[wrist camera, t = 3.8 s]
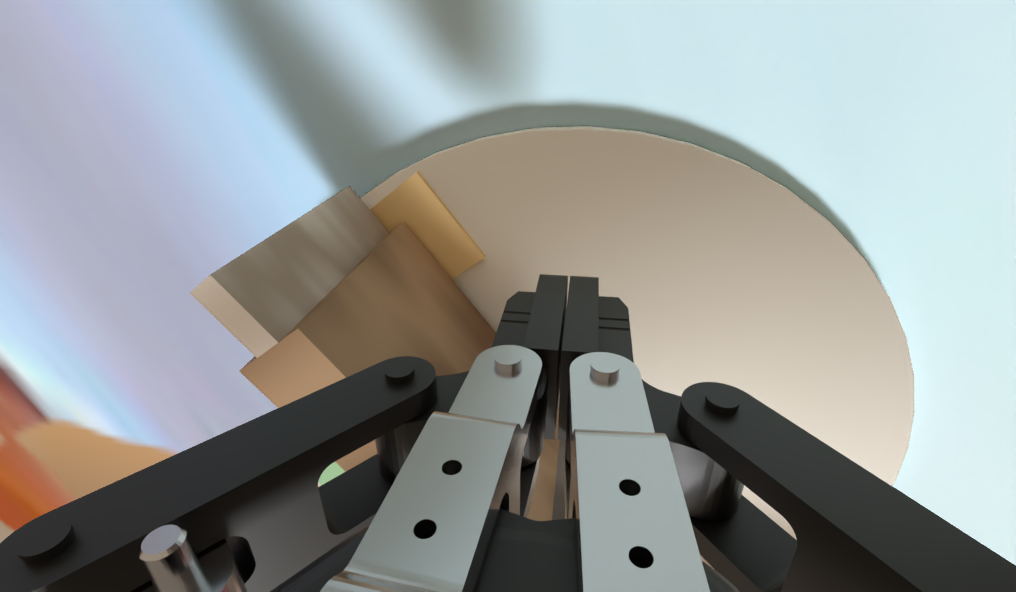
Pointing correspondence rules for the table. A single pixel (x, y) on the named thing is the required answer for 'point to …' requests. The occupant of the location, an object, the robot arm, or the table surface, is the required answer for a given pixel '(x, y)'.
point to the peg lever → (353, 315)
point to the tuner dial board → (675, 272)
